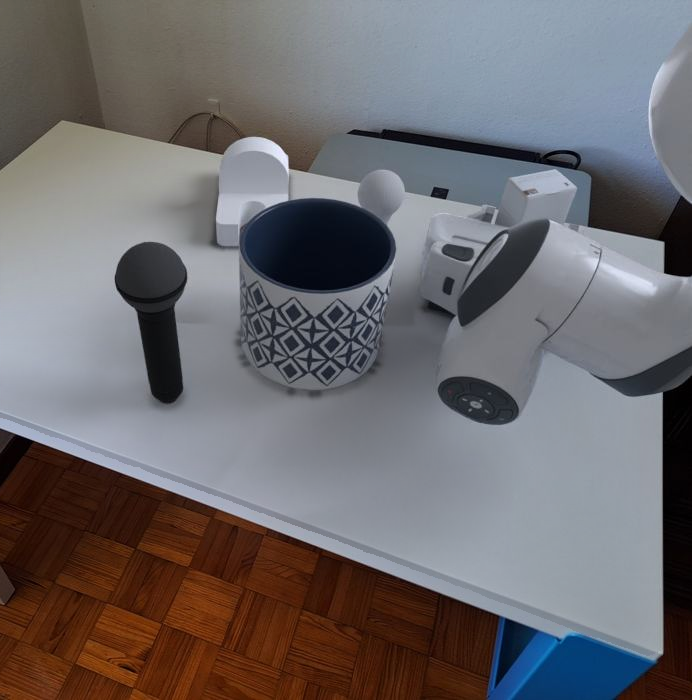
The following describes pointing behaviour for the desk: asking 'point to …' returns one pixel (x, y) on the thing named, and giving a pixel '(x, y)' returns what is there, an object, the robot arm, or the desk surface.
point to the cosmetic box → (536, 198)
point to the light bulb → (381, 193)
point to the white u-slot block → (249, 184)
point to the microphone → (155, 311)
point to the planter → (314, 291)
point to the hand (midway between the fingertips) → (530, 220)
